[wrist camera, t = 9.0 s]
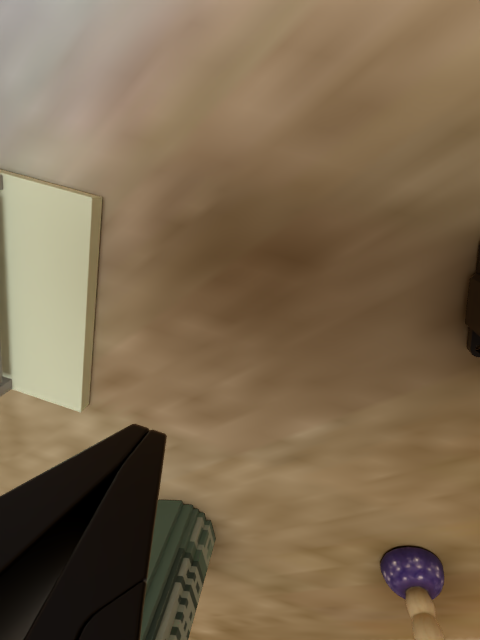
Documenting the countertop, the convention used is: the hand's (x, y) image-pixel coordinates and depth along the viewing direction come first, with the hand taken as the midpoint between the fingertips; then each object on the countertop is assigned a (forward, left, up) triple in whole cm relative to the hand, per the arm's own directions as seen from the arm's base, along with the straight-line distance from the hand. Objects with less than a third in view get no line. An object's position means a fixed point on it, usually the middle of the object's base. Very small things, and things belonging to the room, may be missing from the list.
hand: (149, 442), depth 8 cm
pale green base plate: (+18, -2, -13) cm, 23 cm away
